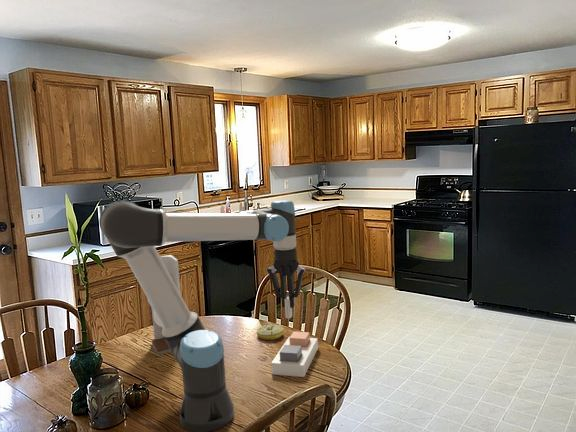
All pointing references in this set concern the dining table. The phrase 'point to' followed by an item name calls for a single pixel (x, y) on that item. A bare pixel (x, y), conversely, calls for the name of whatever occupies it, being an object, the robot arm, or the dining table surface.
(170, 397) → the dining table surface
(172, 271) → the display case
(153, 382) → the dining table surface
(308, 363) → the key panel
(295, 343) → the terracotta key
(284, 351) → the charcoal key
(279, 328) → the decorated donut
